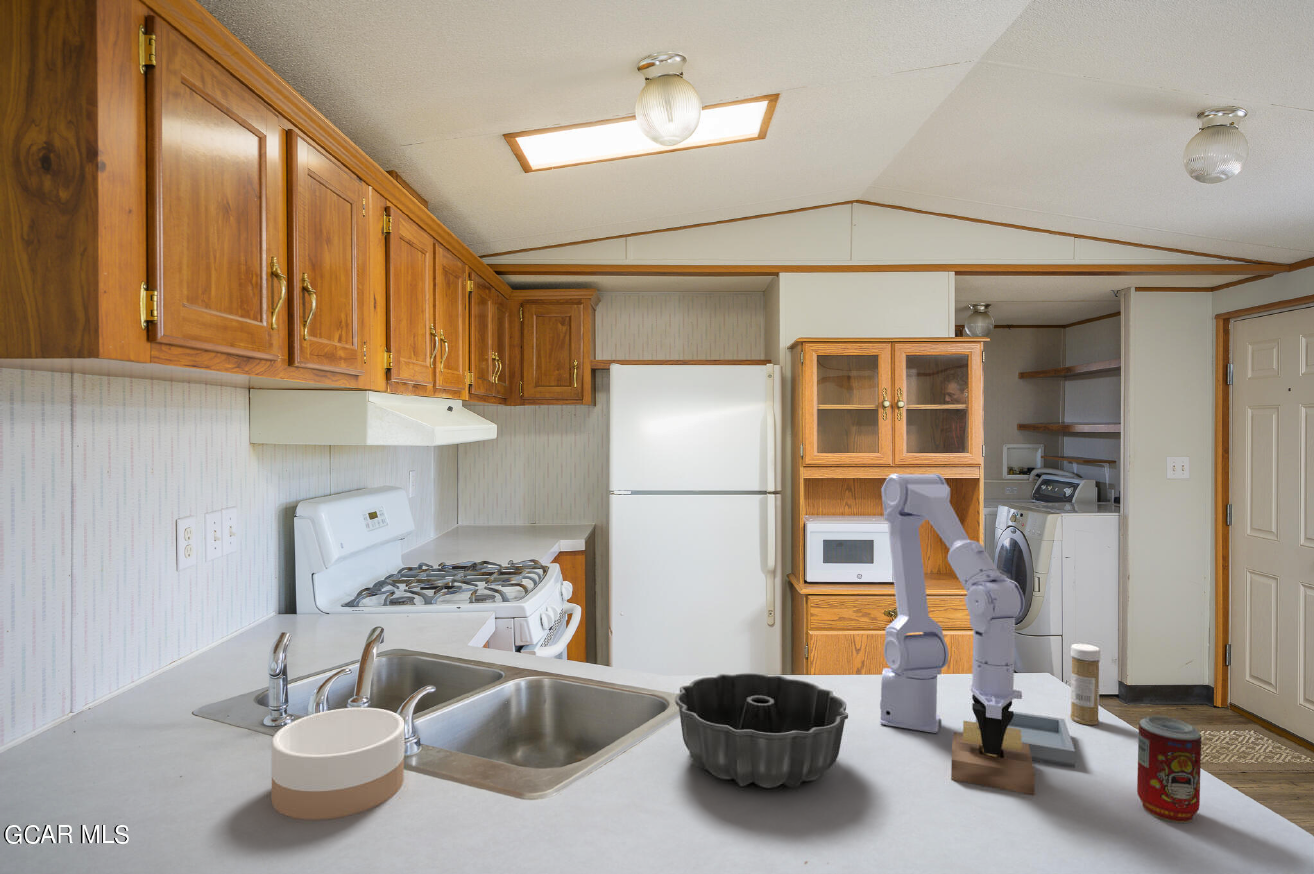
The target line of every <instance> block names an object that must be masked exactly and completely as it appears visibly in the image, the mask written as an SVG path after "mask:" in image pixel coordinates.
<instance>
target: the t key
mask: <svg viewBox="0 0 1314 874" xmlns="http://www.w3.org/2000/svg"><path fill="white" fill-rule="evenodd" d="M962 725H963V726H962V733H963V741H964V742H970V743H976V744H982V739H981V732H980V728H979V724H978V723H976V721H968V720H963V723H962ZM1021 739H1022V736H1021V730H1020V729H1015V728H1008V727H1007V729H1006V732H1005V735H1004V739H1003V744H1002V748H1006V749H1012V750H1018V751H1021ZM983 755H988V756H994V757H1000V754H999V755H993V754H987V753H984V750H983Z"/></svg>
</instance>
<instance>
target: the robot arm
mask: <svg viewBox="0 0 1314 874" xmlns="http://www.w3.org/2000/svg"><path fill="white" fill-rule="evenodd" d="M880 491H881V499H882V507H883V519H884V520H885V521H886V522H887V529H888V539H889V548H890V555H891V557H890V558H891V566H892V574H893V575H892V577H893V583H894V593H895V602H896V604H895V605H896V611H897V617H896V618H895V619H894V620H893V621H891V622H890V624H888V625H887V626H886V628H885V629H884V630H885V631H884V632H885V640H884V641H885V642H884V645H883V655H884V659H885V663H886V664H887V665H888V667H885V668H883V669H882V675H881V682H880V683H881V688H880V690H881V691H880V702H879V709H880V721H879V723H880V725H885V726H891V727H898V728H902V729H909V730H913V731H914V730H915V731H921V732H927V733H933V734H938V732H939V727H940V715H939V714H938V713H937V709H938V708H937V706H938V705H937V704H938V676H939V675H942V669H944V668H945V667H946V666H947V664H948V662H949V648H948V644H947V642H946V640H945V637H944V634H943V627H942V625H941V624H939V623H938V622H936V621H935V620H934V618H933V619H932V617H930V616H929V614H930V613H929V606H928V598H927V590H926V582H925V573H924V563H923V557H922V556H923V555H922V547H921V540H920V530H919V528H920V526H921V525H922V524H923V522H924V521H926V520H927V521H928V522H929V523H930V525H931V526H932V527H933V529H934V530H935V532H936V533H937V534H938V535H939V537H940V538H941V541H943V543H944V544H945V545H946V547H947V548H948V550H949V551H948V554H947V562H948V563H949V565H950V566H951V568H952V570H953V571H954V573H955V575H956V576H957V578H958V580H959V581H960V583H961V585H962V586H963V589H964V590H965V591H966V596H964V603H965V607H966V610H967V611H968V614H969V625H970V628H971V629H973V631H972V632H973V634H972V635H973V636H972V637H973V639H972V679H971V680H972V681H971V682H972V683H971V685H970V692H971V693H972V695H971V700H972V701H973V702H972V703H971V704H972V705H971V706H972V707H971V709H972V712H973V714H974V716H975V720H976V719H977V721H978V724H979V728H980V732H981V739H982V746H983V750H984V753H987V754H993V755H999V754H1000V751H1001V748H1002V744H1003V739H1004V735H1005V732H1006V729H1007V727H1008V725H1009V723H1010V722H1011V720H1012V719H1013V716H1014V713H1013V711H1014V710H1011V709H1010V708H1011V707H1012V706H1013V700H1014V699H1017V700H1022V698H1023V692H1022V690H1017V689H1014V680H1015V679H1014V678H1015V639H1016V637H1015V634H1016V632H1015V629H1016V619H1017V618H1019V617H1021V615H1022V614H1023V612H1024V609H1025V603H1026V601H1025V598H1024V597H1025V596H1024V592H1023V591H1022V588H1021V587H1020V585H1019V584H1018V582H1016V581H1014V579H1009V578H1007V576H1006V575H1005V574H1001V572H1000V571H999V570H998V568H997V567H996V565H995V563H994V562H993V560H992V559H991V557H990V556H989V555H988V552H987V551H986V548H985V547H984V545H983V544H981V543H980V542H978V541H976V540H970V539H969V538H970V537H969V536H968V534H967V533H966V531H965V529H964V527H963V525H962V523H961V522H960V519H959V518H958V515H957V514H956V512H955V510H954V508H953V506H952V504H951V503H950V500H951V488H950V486H948V484H947V482H946V480H945V478H944V476H942V475H941V474H939V473H931V474H899V473H891V474H890V475H889V476H887V477H886V480H885V482H883V485H882V487H881V490H880ZM911 633H914V634H911ZM916 633H919V634H916Z"/></svg>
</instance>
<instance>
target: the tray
mask: <svg viewBox="0 0 1314 874" xmlns="http://www.w3.org/2000/svg"><path fill="white" fill-rule="evenodd" d="M1012 711H1013V713H1014V716H1013V719H1012V720H1011V722H1010V723H1009V725H1008V728H1015V729H1020V730H1021V736H1022V739H1021V743H1025V744H1029V747H1030V752H1031V758H1032V761H1036V762H1040V761H1043V762H1042V763H1046V762H1048V764H1052V763H1053V765H1060V766H1064V765H1065V767H1069V768H1075V766H1076V764H1075V763H1076V750H1075V747H1074V744H1073V740H1072V738H1071V734H1070V731H1069V727H1068V726H1067V722H1066V720H1065V718H1062V717H1061V718H1060V717H1053V716H1048V715H1047V716H1046V715H1039V714H1033V713H1025V712H1020V711H1014V710H1012ZM975 722H976V723H978V721H977V719H976V718H975Z"/></svg>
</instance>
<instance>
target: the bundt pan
mask: <svg viewBox="0 0 1314 874" xmlns="http://www.w3.org/2000/svg"><path fill="white" fill-rule="evenodd" d="M674 701H675V705H676V706H677V707H678V709H679V710H678V711H679V716H680V717H679V719H680V726H681V733H682V739H683V742H684V745H685V747H686V749H687V751H688V753H689V756H690V758H691V759H692V761H693V762H694V764H695V765H696V766H697V767H699V768H701V769H703V770H705V771H709V773H711V774H712V775H713V776H715V777H717V778H719V779H721V780H734V781H736V782H737V784H738V785H739V786H741V787H745V786H747V785H749V784H752V783H753V782H754V784H756V785H757V786H759V787H761V788H766V789H771V788H776V787H778V786H780V785H782V784H783V785H785V786H786V787H789V788H796V787H798V786H799V785H800V784H801V783H802V782H809V781H813V780H816V779H817V778H819V777H820V776H821V775H823V774H824V772H826V771H827V770H829V769H830V768H831V767H833V765H835V762H836V761H837V759H838V757H839V755H840V749H841V744H842V739H843V732H844V729H845V728H844V727H845V723H846V720H848V719H849V713H848V712H847V703H846V701H845V700H844V699H842V698H840V697H839V696H836V695H834V691H832V690H829V689H826V688H821V686H819V685H817V684H815V683H813V682H809V681H806V680H801V679H795V678H788V677H785V676H783V675H768V674H767V675H766V674H762V673H754V672H753V673H752V672H746V673H744V672H742V673H735V674H734V673H733V674H727V673H720V674H718V675H716V676H706V677H700V678H697V679H694V680H693V681H691V682H690V683H689V685H688V684H687V685H683V686H680V687H679V692H678V694H676V695H675V699H674Z"/></svg>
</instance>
